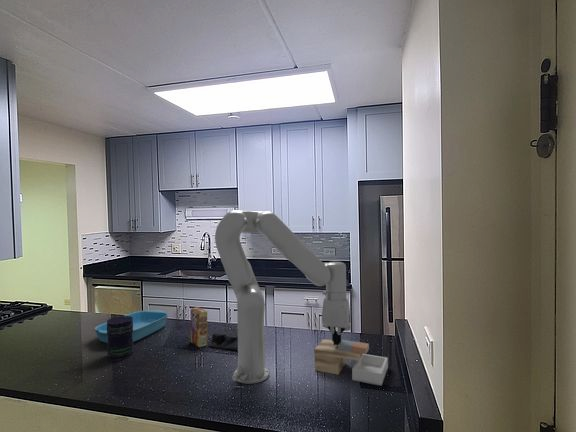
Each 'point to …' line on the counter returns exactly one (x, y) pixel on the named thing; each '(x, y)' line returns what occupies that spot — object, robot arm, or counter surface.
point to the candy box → (199, 327)
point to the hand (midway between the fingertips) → (336, 343)
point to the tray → (370, 369)
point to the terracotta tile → (360, 347)
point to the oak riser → (332, 357)
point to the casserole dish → (138, 324)
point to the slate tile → (346, 345)
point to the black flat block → (224, 341)
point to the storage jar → (120, 337)
